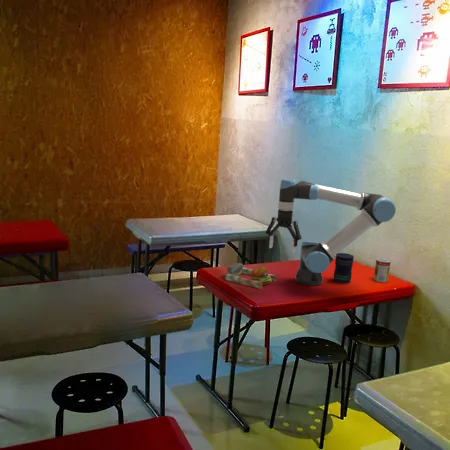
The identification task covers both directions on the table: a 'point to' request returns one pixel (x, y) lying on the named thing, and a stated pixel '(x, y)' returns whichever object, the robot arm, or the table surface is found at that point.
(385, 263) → the canned food
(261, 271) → the cheeseburger
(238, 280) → the open wooden tray
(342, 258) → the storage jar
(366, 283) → the table surface
